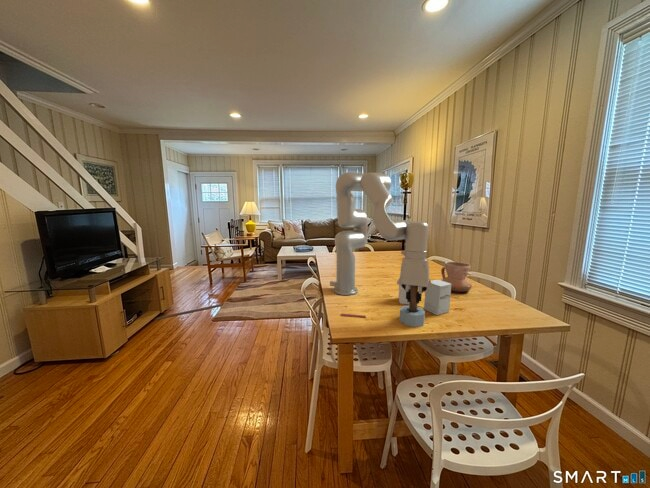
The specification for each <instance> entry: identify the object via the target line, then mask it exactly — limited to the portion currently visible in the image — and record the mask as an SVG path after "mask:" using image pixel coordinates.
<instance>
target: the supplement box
mask: <svg viewBox="0 0 650 488" xmlns="http://www.w3.org/2000/svg"><path fill="white" fill-rule="evenodd" d="M430 281H431V283H432V285H433V287H432V288H431V289H427V290H425V291H424V302H423V303H424V304H423V310H425V311H427V312H429V313H432V314H433V315H436V316H439V315H442V314H446V313H449V312H450V306H451V304H450V303H451V295H452V294H451V293H452V291H451V283H447V282H444V281H442V279H441V280H440V279H434V280H430Z"/></svg>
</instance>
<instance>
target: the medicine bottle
mask: <svg viewBox="0 0 650 488" xmlns="http://www.w3.org/2000/svg"><path fill="white" fill-rule="evenodd" d="M398 301H399V304H401V305H402V304H403V305H409V302H407V299H406V291H405V289H404V288H403V287H402V286H400V285H399V284H398Z"/></svg>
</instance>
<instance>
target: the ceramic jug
mask: <svg viewBox="0 0 650 488" xmlns="http://www.w3.org/2000/svg"><path fill="white" fill-rule="evenodd" d="M471 267H472V266H471V264H470V263H468V262H467V263H465V262H460V261H445V262H444V266H442V268H441V276H442V279H441V281H444V282H447V283H451V292H456V293H465V292H469V291H470V290H471V289H472V285H473V284H472V283H471V282H470V281H469V280H468V279H467V278H466V277H467V276H469V277H470V276H472V275H473V273H472V272H470V271H471ZM445 273H446V274H445ZM446 275H447V276H446Z"/></svg>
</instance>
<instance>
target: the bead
mask: <svg viewBox="0 0 650 488" xmlns="http://www.w3.org/2000/svg"><path fill="white" fill-rule="evenodd" d="M425 314H426V310H425V309H424V308H422V307H420V306H417V312H416V313H412V312H409V304H407V305H403V306H401V307H400V309H399V322H400V323H401V324H403V325H404V326H407V327H413V328H418V327H423V326H424V324H425V320H426V319H425V316H426V315H425Z"/></svg>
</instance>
